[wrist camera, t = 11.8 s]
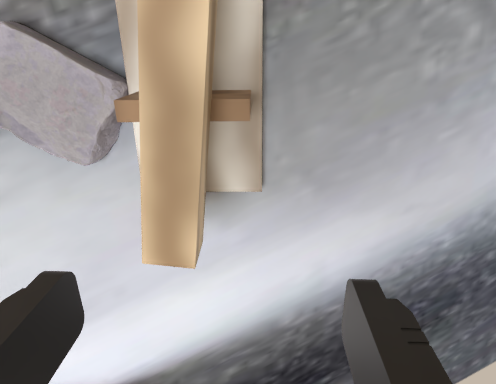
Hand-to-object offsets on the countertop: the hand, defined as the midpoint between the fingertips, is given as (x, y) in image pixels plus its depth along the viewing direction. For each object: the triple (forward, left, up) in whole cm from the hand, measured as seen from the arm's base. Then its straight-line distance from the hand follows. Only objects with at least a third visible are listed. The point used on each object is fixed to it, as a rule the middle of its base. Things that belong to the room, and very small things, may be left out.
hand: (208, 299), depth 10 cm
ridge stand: (+4, -3, -25) cm, 25 cm away
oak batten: (+4, -3, -17) cm, 18 cm away
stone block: (+17, -3, -25) cm, 31 cm away
